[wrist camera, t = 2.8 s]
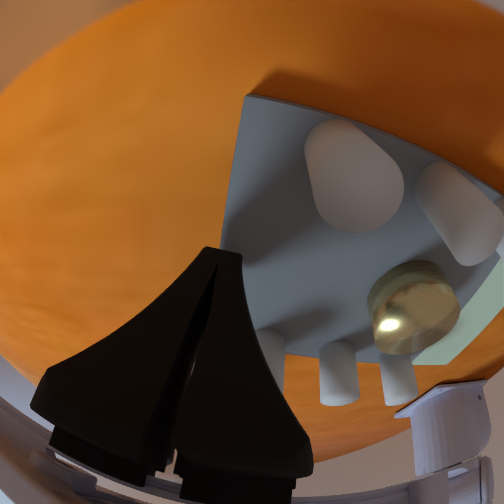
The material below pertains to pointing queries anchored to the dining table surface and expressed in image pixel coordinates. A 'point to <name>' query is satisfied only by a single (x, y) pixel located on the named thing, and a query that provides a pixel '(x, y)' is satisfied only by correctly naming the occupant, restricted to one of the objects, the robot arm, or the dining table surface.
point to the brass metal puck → (411, 307)
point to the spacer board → (352, 240)
